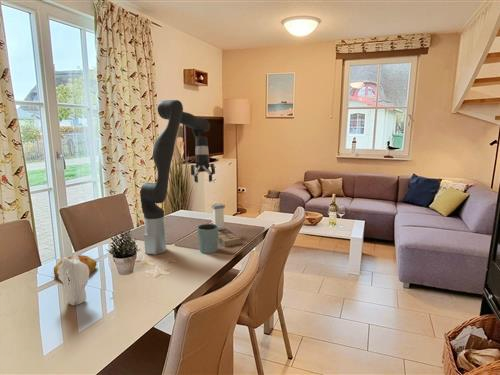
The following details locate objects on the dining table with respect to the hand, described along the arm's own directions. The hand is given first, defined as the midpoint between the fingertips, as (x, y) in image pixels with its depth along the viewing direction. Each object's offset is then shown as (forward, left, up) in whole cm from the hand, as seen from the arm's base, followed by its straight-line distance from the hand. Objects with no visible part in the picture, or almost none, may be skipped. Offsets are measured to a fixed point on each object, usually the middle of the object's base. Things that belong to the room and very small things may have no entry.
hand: (203, 182), depth 190 cm
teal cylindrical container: (-33, -20, -27) cm, 47 cm away
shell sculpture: (-91, 0, -27) cm, 95 cm away
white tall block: (-11, -15, -23) cm, 30 cm away
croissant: (-75, +19, -27) cm, 82 cm away
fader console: (-16, -20, -27) cm, 37 cm away
